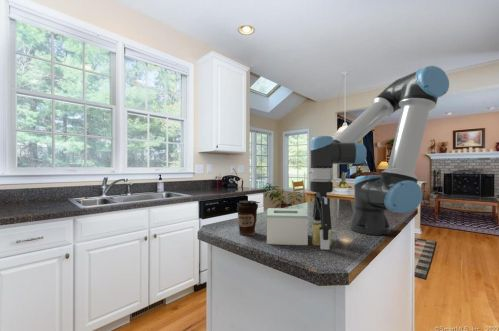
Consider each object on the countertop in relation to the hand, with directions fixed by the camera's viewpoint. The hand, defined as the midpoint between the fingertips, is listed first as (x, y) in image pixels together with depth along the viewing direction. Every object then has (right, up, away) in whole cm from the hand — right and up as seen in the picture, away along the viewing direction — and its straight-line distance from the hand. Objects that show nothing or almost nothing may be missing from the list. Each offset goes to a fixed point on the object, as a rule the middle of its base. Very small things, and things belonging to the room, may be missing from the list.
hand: (321, 243), depth 84 cm
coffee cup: (-26, 0, +12) cm, 29 cm away
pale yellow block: (0, 0, 0) cm, 0 cm away
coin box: (-11, 0, +6) cm, 13 cm away
